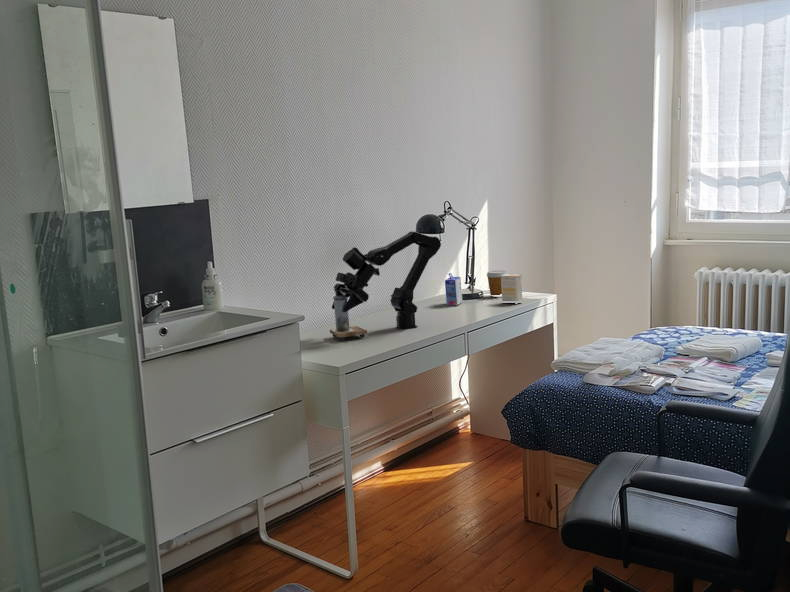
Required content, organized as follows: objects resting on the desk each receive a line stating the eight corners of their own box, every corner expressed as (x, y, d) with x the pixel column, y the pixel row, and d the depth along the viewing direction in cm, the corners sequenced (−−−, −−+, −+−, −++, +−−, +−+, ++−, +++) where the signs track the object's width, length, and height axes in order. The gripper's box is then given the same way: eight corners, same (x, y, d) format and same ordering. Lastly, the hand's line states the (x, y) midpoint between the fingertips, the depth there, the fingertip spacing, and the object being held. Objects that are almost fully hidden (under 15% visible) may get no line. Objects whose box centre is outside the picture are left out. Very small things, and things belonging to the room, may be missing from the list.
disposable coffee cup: (507, 294, 366) (507, 270, 364) (507, 298, 357) (506, 272, 355) (488, 295, 368) (487, 270, 366) (486, 298, 359) (485, 273, 357)
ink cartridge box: (451, 302, 353) (449, 271, 351) (462, 302, 351) (461, 271, 349) (445, 306, 344) (444, 274, 342) (457, 306, 342) (456, 274, 340)
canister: (343, 328, 290) (341, 294, 288) (352, 329, 286) (349, 295, 284) (333, 330, 286) (330, 296, 284) (342, 332, 282) (339, 297, 280)
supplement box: (522, 303, 340) (522, 274, 338) (517, 304, 337) (516, 275, 335) (507, 302, 346) (506, 273, 344) (501, 303, 342) (500, 275, 340)
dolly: (357, 333, 294) (356, 325, 293) (367, 337, 284) (367, 330, 283) (330, 336, 290) (329, 329, 289) (339, 341, 280) (339, 334, 279)
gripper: (336, 262, 292) (312, 294, 288) (359, 265, 276) (334, 299, 272) (355, 280, 297) (332, 312, 293) (379, 284, 281) (355, 318, 277)
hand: (338, 310), depth 284 cm, fingers open, 9 cm apart
